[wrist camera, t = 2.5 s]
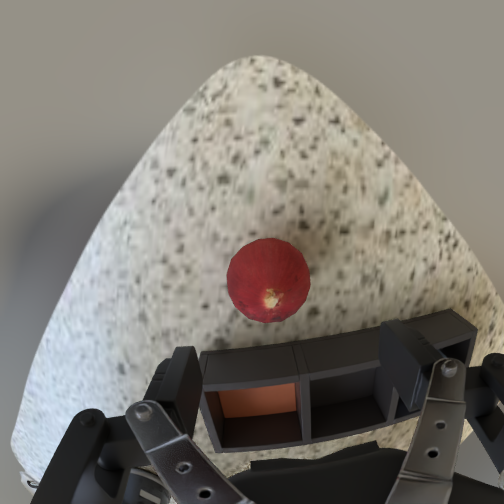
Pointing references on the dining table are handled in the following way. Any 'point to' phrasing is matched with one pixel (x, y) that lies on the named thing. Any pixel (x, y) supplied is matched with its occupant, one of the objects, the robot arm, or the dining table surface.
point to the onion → (268, 280)
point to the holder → (313, 386)
